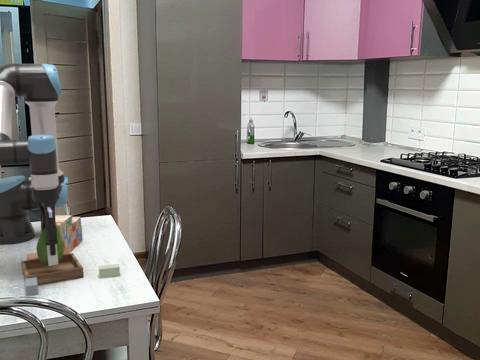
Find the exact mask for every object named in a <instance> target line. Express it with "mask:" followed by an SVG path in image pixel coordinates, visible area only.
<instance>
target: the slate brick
mask: <svg viewBox="0 0 480 360" xmlns="http://www.w3.org/2000/svg"><path fill="white" fill-rule="evenodd" d="M24 281H25V295H26V297H30V296H35V295H39V288H38V287H39V286H38V285H37V277H34V278H27V279H25V278H24Z"/></svg>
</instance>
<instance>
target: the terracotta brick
mask: <svg viewBox="0 0 480 360" xmlns="http://www.w3.org/2000/svg"><path fill="white" fill-rule="evenodd" d="M25 255H26V260H32V259H38V255H37V252H29V253H26V254H25Z"/></svg>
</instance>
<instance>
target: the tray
mask: <svg viewBox="0 0 480 360" xmlns="http://www.w3.org/2000/svg"><path fill="white" fill-rule="evenodd" d="M20 263H21V272H22V276H23V278H24V280H25V279H27V278H34V277H37V285H38V287H39V286H43V285H45V286H46V285H48V284H56V283H60V282H66V281H70V280H71V281H72V280H76V279H82V278H84V277H85V275H84V266H82V264H81V263H80V261H79V260H78V258H77V256H76V255H75V254H74V253H73V252H70V253H69V254H63V256H62V258H61V260H60V261H59V262H58V265H52V266H49V265H45V264H43V263H42V262H41V261H40V260H39V258H38V259H32V260H27V259H26V260H21V261H20Z"/></svg>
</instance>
